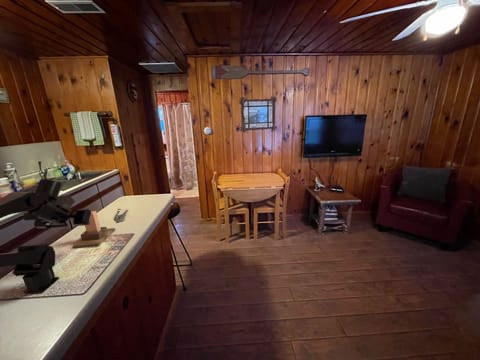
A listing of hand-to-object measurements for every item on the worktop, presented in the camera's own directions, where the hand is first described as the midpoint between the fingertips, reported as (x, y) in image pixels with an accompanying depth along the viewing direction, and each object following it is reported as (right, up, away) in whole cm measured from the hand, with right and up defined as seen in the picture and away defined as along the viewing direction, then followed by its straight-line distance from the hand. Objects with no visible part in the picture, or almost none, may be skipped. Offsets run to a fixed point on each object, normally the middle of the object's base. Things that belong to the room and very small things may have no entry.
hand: (78, 224), depth 85 cm
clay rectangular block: (0, -8, +10) cm, 13 cm away
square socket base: (0, -9, +11) cm, 14 cm away
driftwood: (-2, -3, +35) cm, 35 cm away
